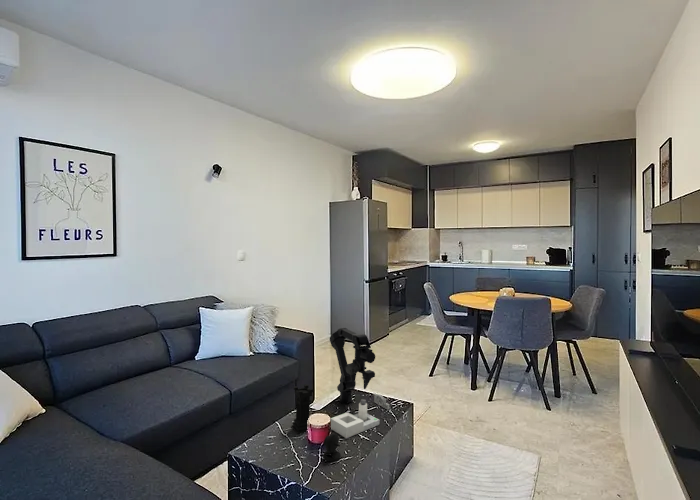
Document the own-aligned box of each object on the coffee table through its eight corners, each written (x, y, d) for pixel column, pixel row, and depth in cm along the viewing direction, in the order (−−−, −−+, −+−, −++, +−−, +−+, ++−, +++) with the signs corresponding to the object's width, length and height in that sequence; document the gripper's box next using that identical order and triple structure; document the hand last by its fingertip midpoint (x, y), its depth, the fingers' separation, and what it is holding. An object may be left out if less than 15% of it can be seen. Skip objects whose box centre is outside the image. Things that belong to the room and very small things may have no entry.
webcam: (330, 450, 170) (330, 427, 169) (344, 455, 166) (344, 432, 165) (319, 458, 163) (319, 434, 163) (333, 464, 159) (334, 440, 159)
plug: (356, 424, 195) (357, 400, 194) (361, 420, 198) (361, 397, 198) (363, 426, 192) (364, 402, 192) (368, 423, 196) (368, 399, 196)
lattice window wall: (389, 409, 213) (390, 398, 213) (387, 410, 212) (387, 399, 212) (375, 401, 223) (376, 391, 222) (373, 402, 222) (373, 392, 221)
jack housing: (330, 428, 189) (330, 418, 189) (363, 416, 204) (363, 406, 204) (346, 438, 180) (346, 427, 180) (379, 424, 195) (379, 414, 195)
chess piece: (297, 434, 182) (299, 392, 182) (291, 427, 189) (292, 386, 189) (313, 430, 187) (314, 389, 186) (306, 423, 193) (307, 384, 193)
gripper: (337, 356, 212) (336, 384, 212) (360, 365, 198) (359, 395, 198) (352, 352, 219) (351, 380, 220) (376, 361, 205) (375, 390, 206)
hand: (358, 386), depth 211 cm, fingers open, 9 cm apart
